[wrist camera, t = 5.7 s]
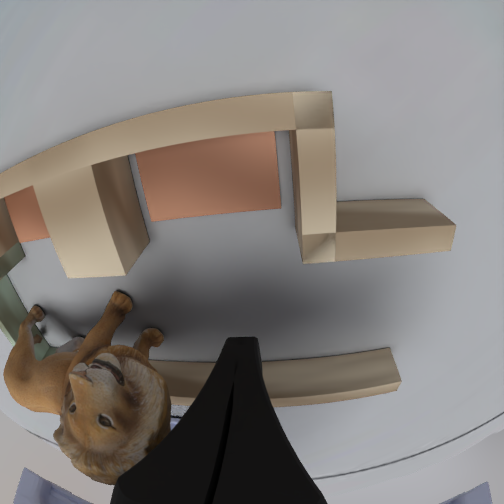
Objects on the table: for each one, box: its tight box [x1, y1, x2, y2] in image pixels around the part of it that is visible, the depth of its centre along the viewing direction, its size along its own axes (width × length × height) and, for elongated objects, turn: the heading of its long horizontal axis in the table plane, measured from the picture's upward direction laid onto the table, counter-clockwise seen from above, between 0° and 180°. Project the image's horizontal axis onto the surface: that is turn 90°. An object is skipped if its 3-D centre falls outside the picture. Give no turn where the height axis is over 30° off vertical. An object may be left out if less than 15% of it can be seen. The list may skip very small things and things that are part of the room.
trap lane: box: [0, 91, 456, 407], centre depth 11 cm, size 14×25×3 cm, turn 97°
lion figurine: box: [3, 291, 171, 485], centre depth 10 cm, size 15×5×9 cm, turn 113°
